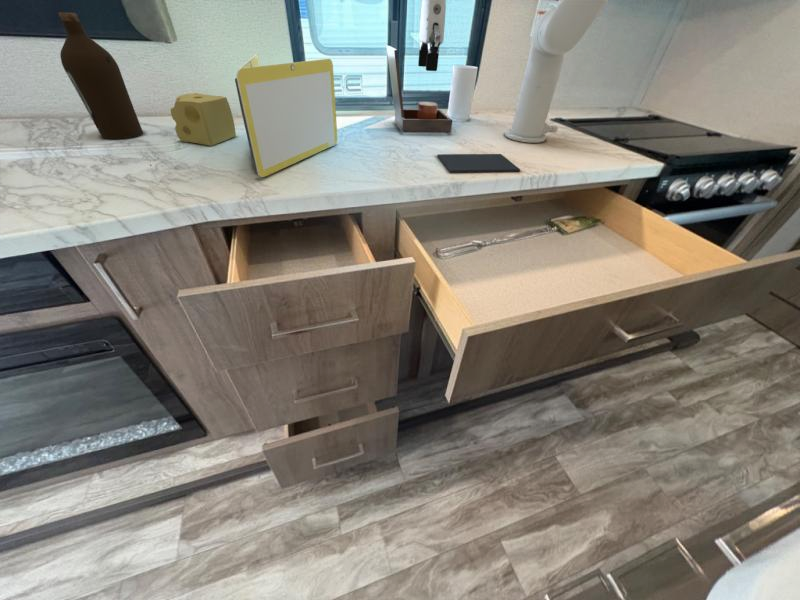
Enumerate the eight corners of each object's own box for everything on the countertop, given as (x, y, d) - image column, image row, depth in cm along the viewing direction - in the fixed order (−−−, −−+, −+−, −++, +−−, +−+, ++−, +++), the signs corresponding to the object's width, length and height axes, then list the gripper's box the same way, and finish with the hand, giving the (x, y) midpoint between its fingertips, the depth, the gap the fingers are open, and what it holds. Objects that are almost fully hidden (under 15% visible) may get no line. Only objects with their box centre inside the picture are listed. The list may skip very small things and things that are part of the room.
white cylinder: (468, 117, 126) (476, 66, 115) (469, 122, 119) (478, 68, 109) (446, 115, 126) (453, 64, 116) (446, 120, 120) (453, 67, 109)
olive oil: (147, 128, 95) (99, 13, 79) (144, 138, 88) (92, 14, 72) (101, 131, 91) (42, 11, 75) (95, 141, 84) (28, 12, 68)
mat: (500, 156, 91) (501, 153, 91) (519, 171, 82) (520, 169, 82) (437, 156, 88) (437, 154, 88) (450, 172, 79) (450, 170, 79)
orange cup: (432, 124, 112) (435, 101, 108) (437, 128, 107) (440, 105, 103) (415, 123, 111) (416, 101, 107) (418, 128, 106) (420, 105, 102)
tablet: (258, 135, 95) (240, 50, 83) (334, 134, 100) (328, 53, 87) (245, 181, 70) (216, 68, 57) (349, 177, 74) (343, 71, 62)
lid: (389, 45, 100) (386, 46, 100) (397, 49, 89) (394, 50, 89) (396, 107, 111) (394, 107, 111) (404, 117, 100) (401, 118, 100)
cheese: (179, 141, 88) (163, 97, 81) (208, 132, 96) (196, 91, 89) (212, 147, 86) (198, 102, 79) (239, 136, 94) (229, 95, 87)
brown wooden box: (438, 123, 116) (440, 109, 113) (450, 135, 105) (452, 120, 103) (394, 123, 114) (395, 109, 111) (402, 135, 103) (402, 119, 100)
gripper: (457, -11, 81) (447, 73, 92) (439, -8, 94) (432, 65, 105) (428, -14, 80) (421, 72, 91) (413, -11, 93) (409, 64, 104)
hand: (427, 68), depth 98 cm, fingers open, 9 cm apart
